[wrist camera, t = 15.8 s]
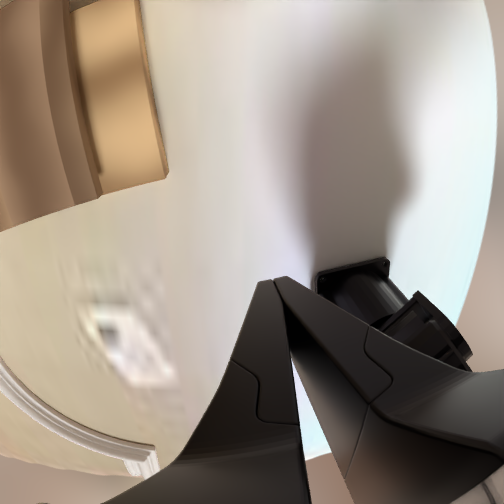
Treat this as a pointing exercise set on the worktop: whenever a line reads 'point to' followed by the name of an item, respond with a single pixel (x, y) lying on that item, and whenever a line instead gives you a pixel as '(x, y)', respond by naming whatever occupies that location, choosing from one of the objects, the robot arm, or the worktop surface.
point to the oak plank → (117, 94)
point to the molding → (78, 428)
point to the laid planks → (41, 115)
